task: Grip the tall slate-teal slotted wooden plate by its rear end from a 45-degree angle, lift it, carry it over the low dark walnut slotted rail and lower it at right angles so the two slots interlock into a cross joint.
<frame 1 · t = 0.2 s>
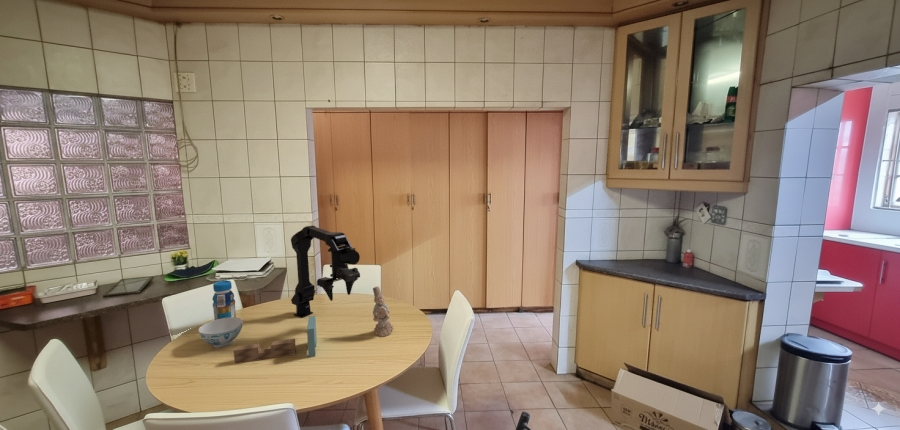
hand: (340, 297, 153), 14 cm above the table, fingers open, 9 cm apart
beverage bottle: (226, 326, 158), on the table
walnut slotted rail: (266, 356, 132), on the table
teal slotted plate: (312, 349, 137), on the table
chinaware: (223, 343, 142), on the table
figurine: (383, 332, 151), on the table
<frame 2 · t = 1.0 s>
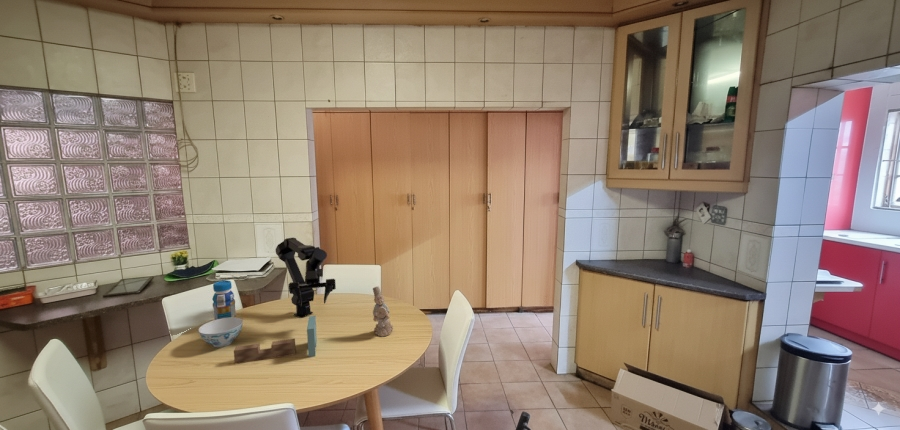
hand: (312, 304, 147), 13 cm above the table, fingers open, 9 cm apart
nothing on the table moved.
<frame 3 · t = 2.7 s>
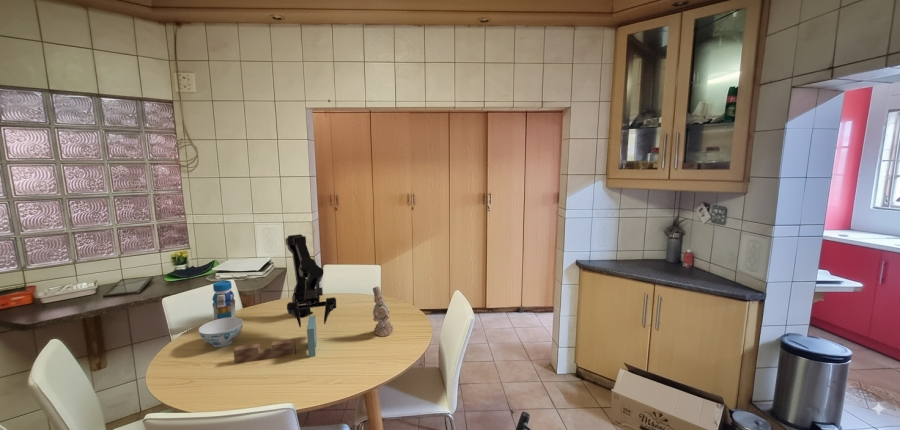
hand: (312, 325, 141), 8 cm above the table, fingers open, 9 cm apart
nothing on the table moved.
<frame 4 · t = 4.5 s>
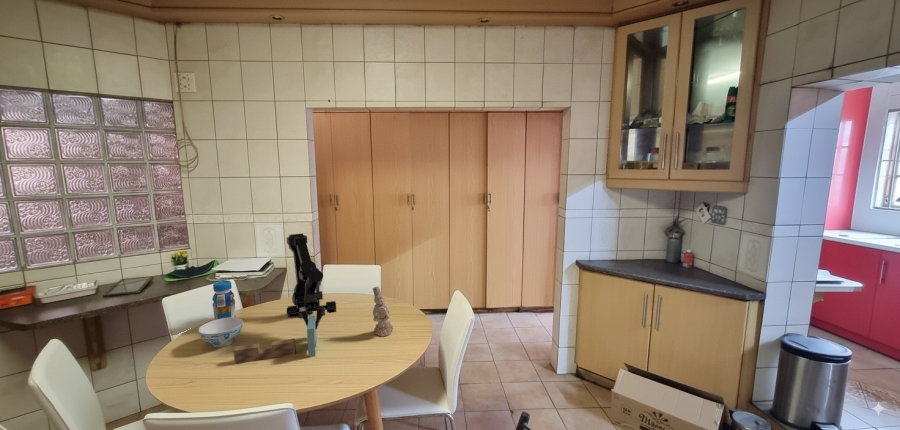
hand: (312, 329, 139), 7 cm above the table, fingers closed on teal slotted plate, 2 cm apart
teal slotted plate: (312, 349, 137), on the table, touching gripper
everything else where it was.
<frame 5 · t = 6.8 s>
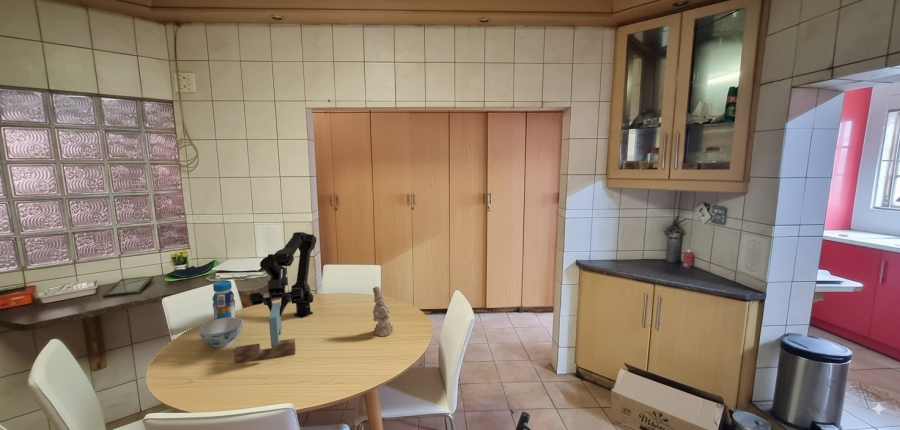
hand: (276, 316, 135), 14 cm above the table, fingers closed on teal slotted plate, 2 cm apart
teal slotted plate: (276, 336, 134), point 7 cm above the table, touching gripper
everything else where it was.
when the fingers open (8 cm above the table, at t = 9.1 s): teal slotted plate stays where it is, on the table.
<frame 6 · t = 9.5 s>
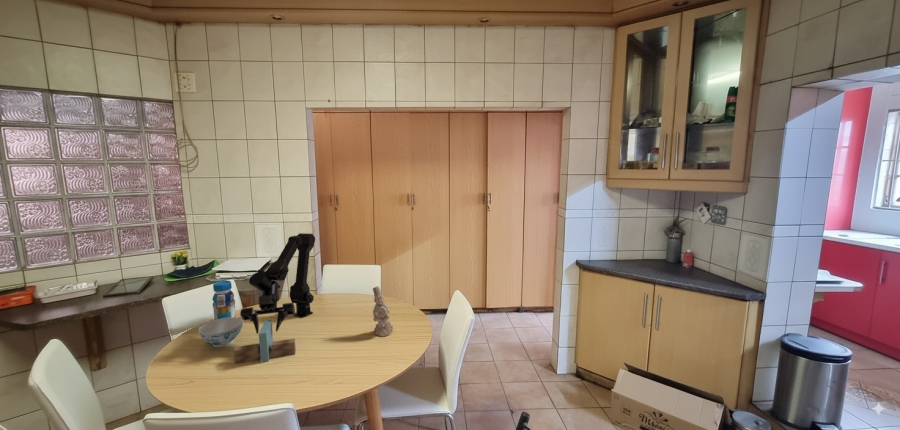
hand: (267, 332, 135), 8 cm above the table, fingers open, 6 cm apart
teal slotted plate: (267, 353, 134), on the table
everything else where it was.
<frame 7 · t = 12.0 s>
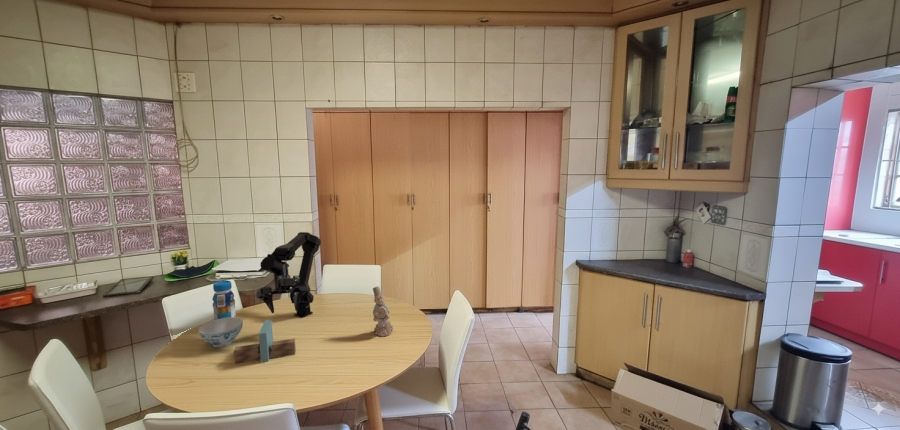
hand: (285, 311, 143), 12 cm above the table, fingers open, 9 cm apart
nothing on the table moved.
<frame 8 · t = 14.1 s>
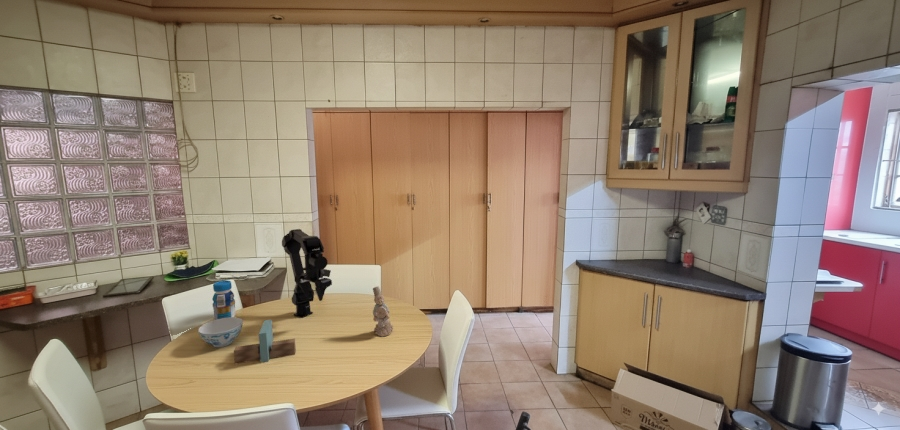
hand: (313, 298, 158), 12 cm above the table, fingers open, 9 cm apart
nothing on the table moved.
at the end: teal slotted plate 0.9 cm from the target spot on the walnut slotted rail, point 0.0 cm above the walnut slotted rail's base; teal slotted plate tilted 0°; the gripper is holding nothing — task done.
